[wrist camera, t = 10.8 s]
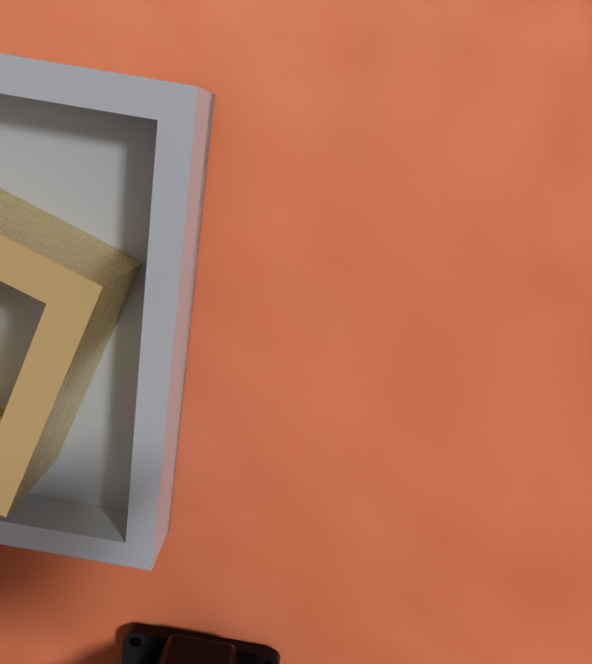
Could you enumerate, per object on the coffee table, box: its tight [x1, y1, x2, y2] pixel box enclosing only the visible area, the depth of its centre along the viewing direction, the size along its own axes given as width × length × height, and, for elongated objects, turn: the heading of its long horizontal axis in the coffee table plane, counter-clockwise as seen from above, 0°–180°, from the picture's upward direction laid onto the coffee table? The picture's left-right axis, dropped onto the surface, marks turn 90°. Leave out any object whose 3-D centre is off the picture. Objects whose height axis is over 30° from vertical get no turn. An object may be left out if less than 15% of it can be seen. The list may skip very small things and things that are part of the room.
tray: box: [0, 53, 214, 571], centre depth 18 cm, size 16×11×2 cm
